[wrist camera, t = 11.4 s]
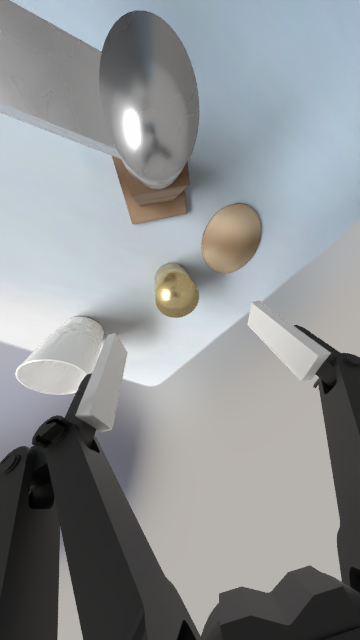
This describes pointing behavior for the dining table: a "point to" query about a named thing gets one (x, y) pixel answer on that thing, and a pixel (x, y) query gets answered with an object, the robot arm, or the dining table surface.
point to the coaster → (231, 238)
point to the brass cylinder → (175, 291)
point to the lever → (104, 89)
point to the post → (152, 196)
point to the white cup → (63, 357)
